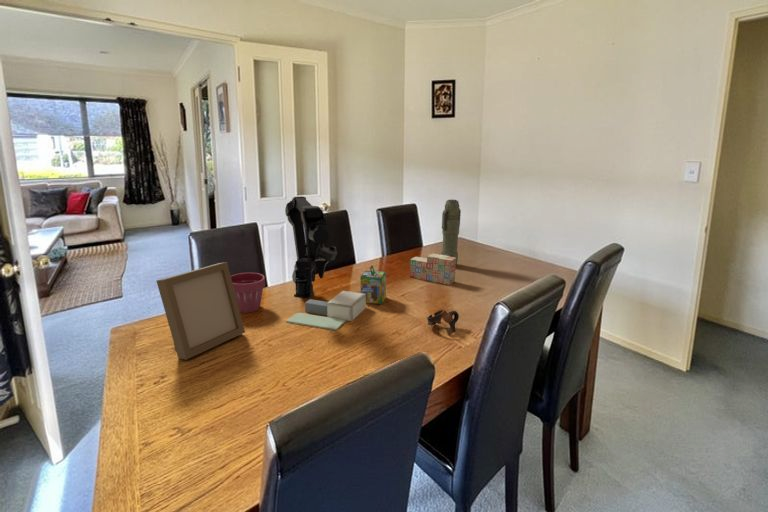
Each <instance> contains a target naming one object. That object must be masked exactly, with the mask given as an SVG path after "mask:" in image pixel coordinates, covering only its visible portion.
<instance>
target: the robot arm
mask: <svg viewBox="0 0 768 512" xmlns="http://www.w3.org/2000/svg"><path fill="white" fill-rule="evenodd" d="M284 210H285V215H286V217H287V221H288V223H289V224H290V225H291V226H292V231H293V239H294V245H295V246H294V247H295V252H296V253H295V254H296V261H295V264H294V269H293V272H292V277H291V278H292V282H293V283H294V284H295V294H293V296H294V297H296V298H297V297H299V298H305V299H308V298H310V296H312V295H314V294H315V292H314V284H313V282H315V281H316V272H317V274H318V276H319V278H320V279H323V278H324V275H325V271H326V266H327V264H328V263H330V262H332V261H335V259H336V256H338V251H337V247H336V246H334V245H332V246H330V247H325V244H326V243H327V242H328V240H329V237H330V236H329V232H328V231H327V230H326V229H325V228H324V227H327V219H326V217H325V213H324V211H323V209H321V207H320V206H318V205H312V204H311V203H310V202H309V201H308V200H307V198H306V196H303V195H302V196H294V197H292V199H291V200H290V201H288V202H287V203H286V205H285V209H284Z"/></svg>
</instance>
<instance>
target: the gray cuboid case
mask: <svg viewBox="0 0 768 512" xmlns="http://www.w3.org/2000/svg"><path fill="white" fill-rule="evenodd" d="M327 302H328V303H327V315H326V317H329V318H335V319H342V320H346V321H350V322H353V321H354V320H355V319H356V318H357V317H358V316H359V315H360V314H361V313H362V312H363V311H365V309H366V307H367V303H366V294H364V293H361V292H355V291H350V290H342V291H340V292H339V293H338V294H336V295H335V296H333V298H331V299H330V300H329V301H327Z"/></svg>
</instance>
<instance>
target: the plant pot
mask: <svg viewBox="0 0 768 512" xmlns="http://www.w3.org/2000/svg"><path fill="white" fill-rule="evenodd" d="M231 279H232V283H233V287H234V291H235V295H236V299H237V303H238V306H239V310H240V314H242V313H243V314H248V313H254V312H256V311H258V310H260V308H261V304H262V303H261V302H262V297H263V291H264V290H263V289H264V288H265V287H266V278H265V275H264V274H263V273H259V272H240V273H235V274H233V275H231Z"/></svg>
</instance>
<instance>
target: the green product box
mask: <svg viewBox="0 0 768 512" xmlns="http://www.w3.org/2000/svg"><path fill="white" fill-rule="evenodd" d="M386 275H387V273H386V271H379V270H375V268H374V266H373V264H371V265H370V267H369V270H364V272H363V273H362V274H361V275H360V277H359V278H360V293H364V294H366V304H375V305H376V304H377V305H383V303H384V301H385V300H386V296H387V294H386V293H387V289H386V288H387V287H386V286H387V283H386V282H387V276H386Z"/></svg>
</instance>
